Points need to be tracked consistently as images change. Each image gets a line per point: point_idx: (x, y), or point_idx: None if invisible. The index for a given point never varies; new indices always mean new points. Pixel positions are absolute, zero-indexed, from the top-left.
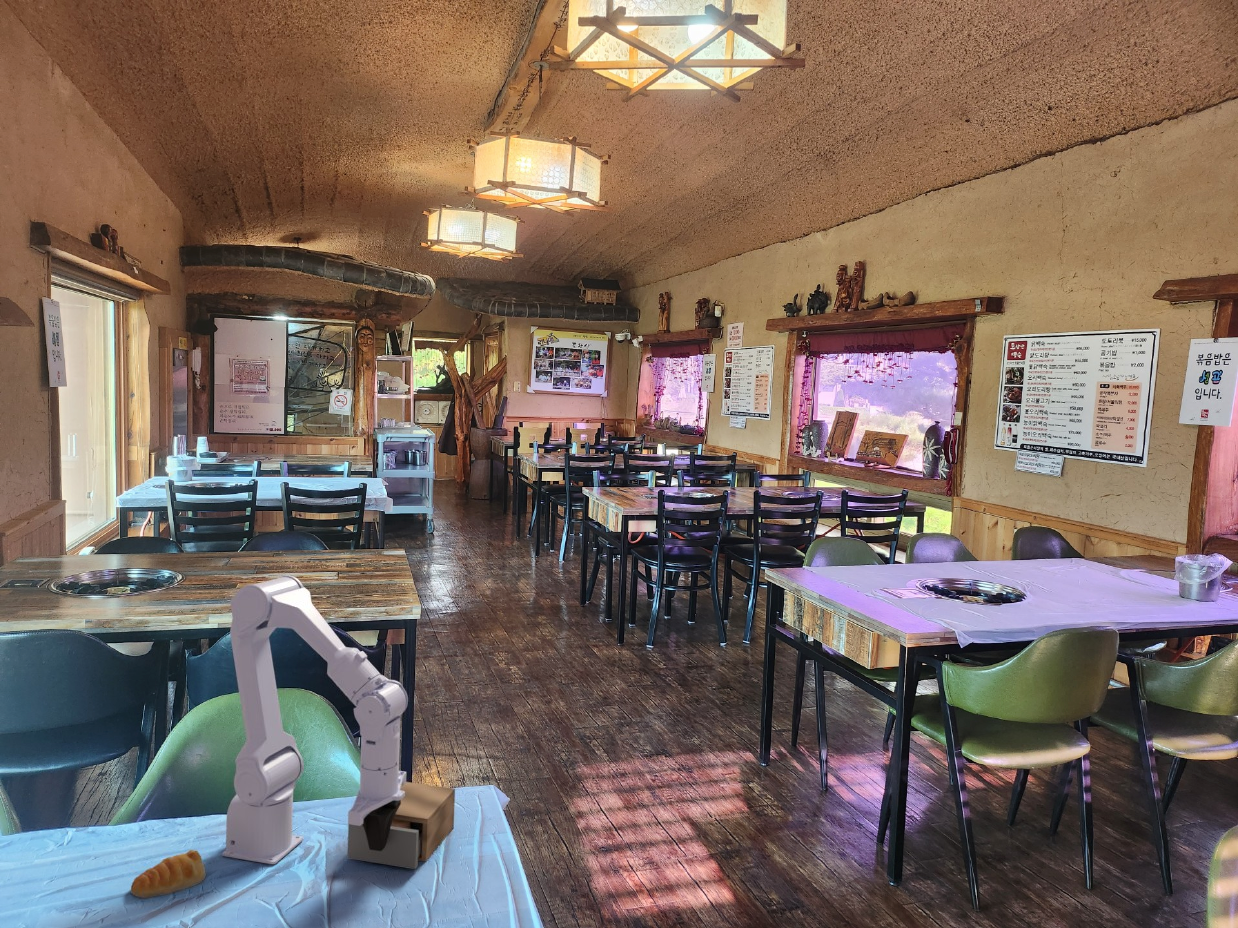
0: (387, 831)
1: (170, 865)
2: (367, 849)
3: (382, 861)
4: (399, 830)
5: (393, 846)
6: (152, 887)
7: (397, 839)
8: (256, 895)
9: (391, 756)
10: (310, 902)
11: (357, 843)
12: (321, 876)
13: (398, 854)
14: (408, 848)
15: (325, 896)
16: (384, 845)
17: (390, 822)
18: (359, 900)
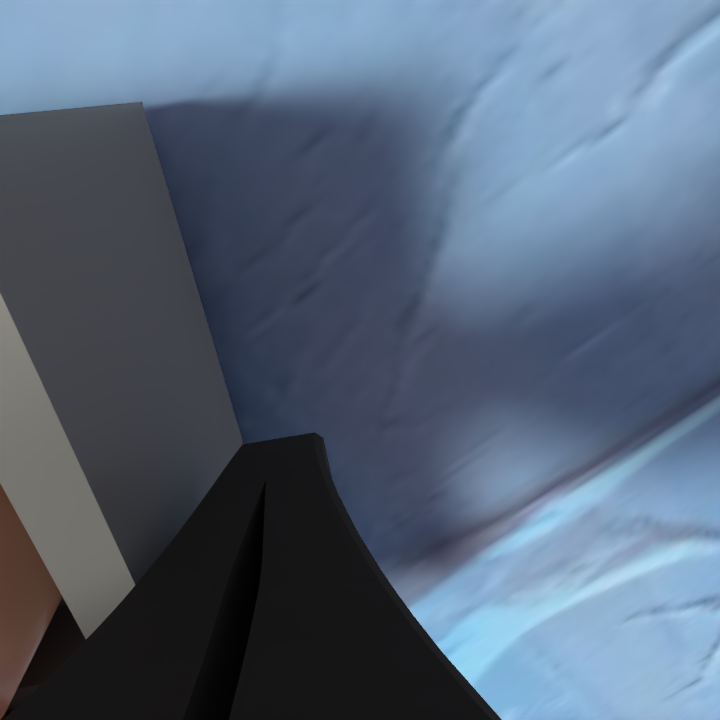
0: (234, 548)
1: None
2: None
3: (227, 400)
4: (76, 441)
5: (171, 388)
6: None
7: (128, 392)
8: (682, 690)
9: None
10: (693, 492)
11: None
12: (463, 590)
13: (170, 304)
14: (104, 218)
15: (625, 466)
16: (267, 450)
17: (156, 650)
18: (619, 271)
